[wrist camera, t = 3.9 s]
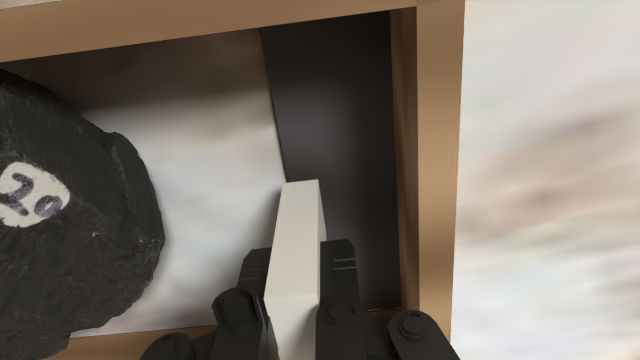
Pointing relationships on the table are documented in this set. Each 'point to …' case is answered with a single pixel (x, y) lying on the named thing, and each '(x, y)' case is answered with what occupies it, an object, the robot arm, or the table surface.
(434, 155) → the open wooden frame
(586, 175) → the table surface
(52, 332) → the rock
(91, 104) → the table surface
